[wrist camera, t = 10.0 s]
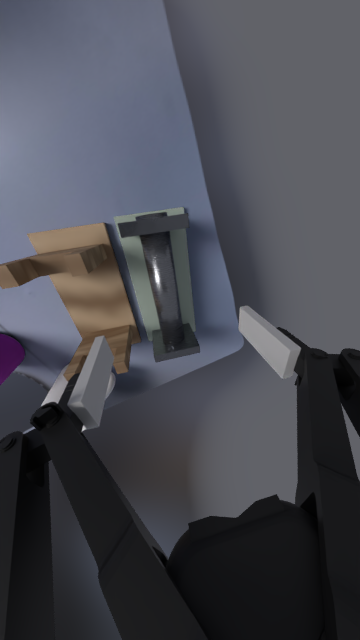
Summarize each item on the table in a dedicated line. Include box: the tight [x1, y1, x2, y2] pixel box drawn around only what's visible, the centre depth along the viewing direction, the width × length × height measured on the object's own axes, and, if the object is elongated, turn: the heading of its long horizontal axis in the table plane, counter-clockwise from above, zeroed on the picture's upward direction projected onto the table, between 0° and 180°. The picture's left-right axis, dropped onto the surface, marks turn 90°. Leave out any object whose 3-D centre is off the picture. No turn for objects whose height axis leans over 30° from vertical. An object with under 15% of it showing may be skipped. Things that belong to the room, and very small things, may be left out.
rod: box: [117, 212, 200, 362], centre depth 26 cm, size 21×8×8 cm, turn 7°
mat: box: [114, 207, 196, 341], centre depth 30 cm, size 22×10×1 cm, turn 8°
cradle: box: [0, 223, 141, 381], centre depth 24 cm, size 21×10×11 cm, turn 8°
